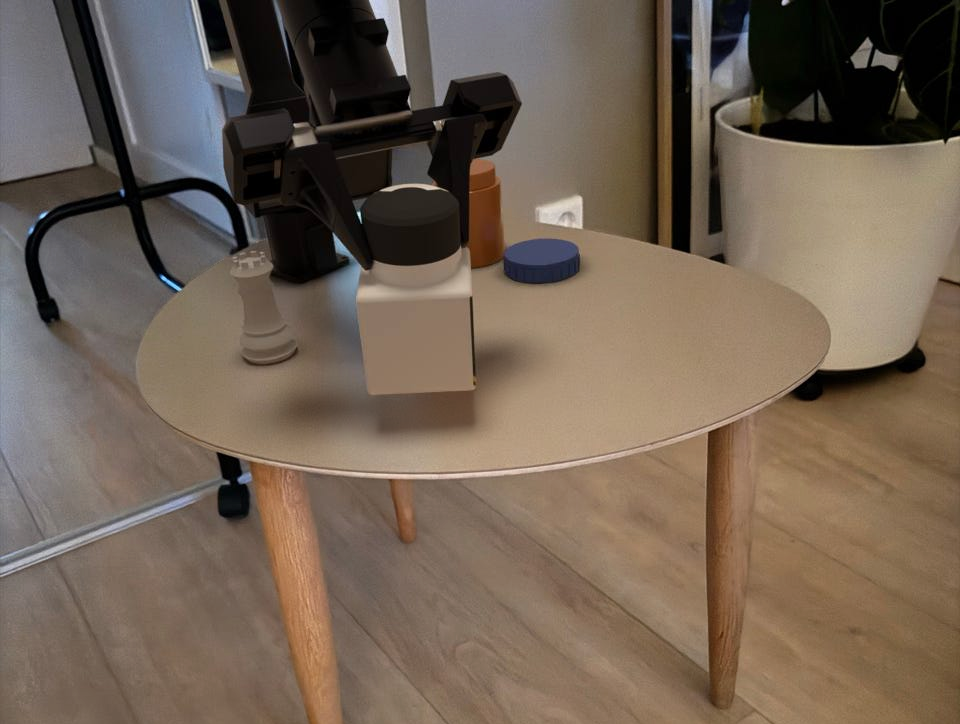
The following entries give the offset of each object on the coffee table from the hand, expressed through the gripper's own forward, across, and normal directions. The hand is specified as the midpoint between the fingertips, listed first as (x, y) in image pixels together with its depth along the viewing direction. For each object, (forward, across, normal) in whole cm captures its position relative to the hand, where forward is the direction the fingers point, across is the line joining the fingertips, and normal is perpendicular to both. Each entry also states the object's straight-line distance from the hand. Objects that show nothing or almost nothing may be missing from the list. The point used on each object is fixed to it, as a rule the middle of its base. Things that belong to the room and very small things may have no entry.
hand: (418, 256), depth 57 cm
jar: (-10, -14, -27) cm, 32 cm away
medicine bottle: (+5, 0, -7) cm, 9 cm away
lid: (-6, -18, -21) cm, 28 cm away
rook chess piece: (-3, +8, -19) cm, 21 cm away
